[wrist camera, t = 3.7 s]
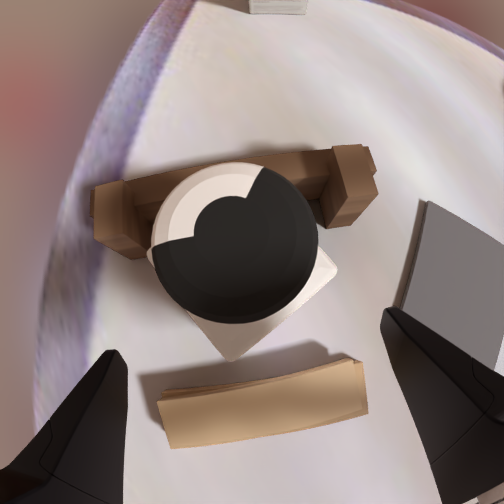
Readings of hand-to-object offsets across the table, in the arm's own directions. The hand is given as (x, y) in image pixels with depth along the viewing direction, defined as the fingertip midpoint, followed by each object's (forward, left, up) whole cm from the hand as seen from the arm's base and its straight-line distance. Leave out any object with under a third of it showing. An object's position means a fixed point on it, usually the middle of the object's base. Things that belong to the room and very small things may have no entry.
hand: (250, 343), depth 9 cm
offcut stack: (-4, -4, -12) cm, 13 cm away
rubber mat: (+12, -14, -12) cm, 22 cm away
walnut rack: (+6, +6, -12) cm, 15 cm away
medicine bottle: (+3, +3, -12) cm, 13 cm away
